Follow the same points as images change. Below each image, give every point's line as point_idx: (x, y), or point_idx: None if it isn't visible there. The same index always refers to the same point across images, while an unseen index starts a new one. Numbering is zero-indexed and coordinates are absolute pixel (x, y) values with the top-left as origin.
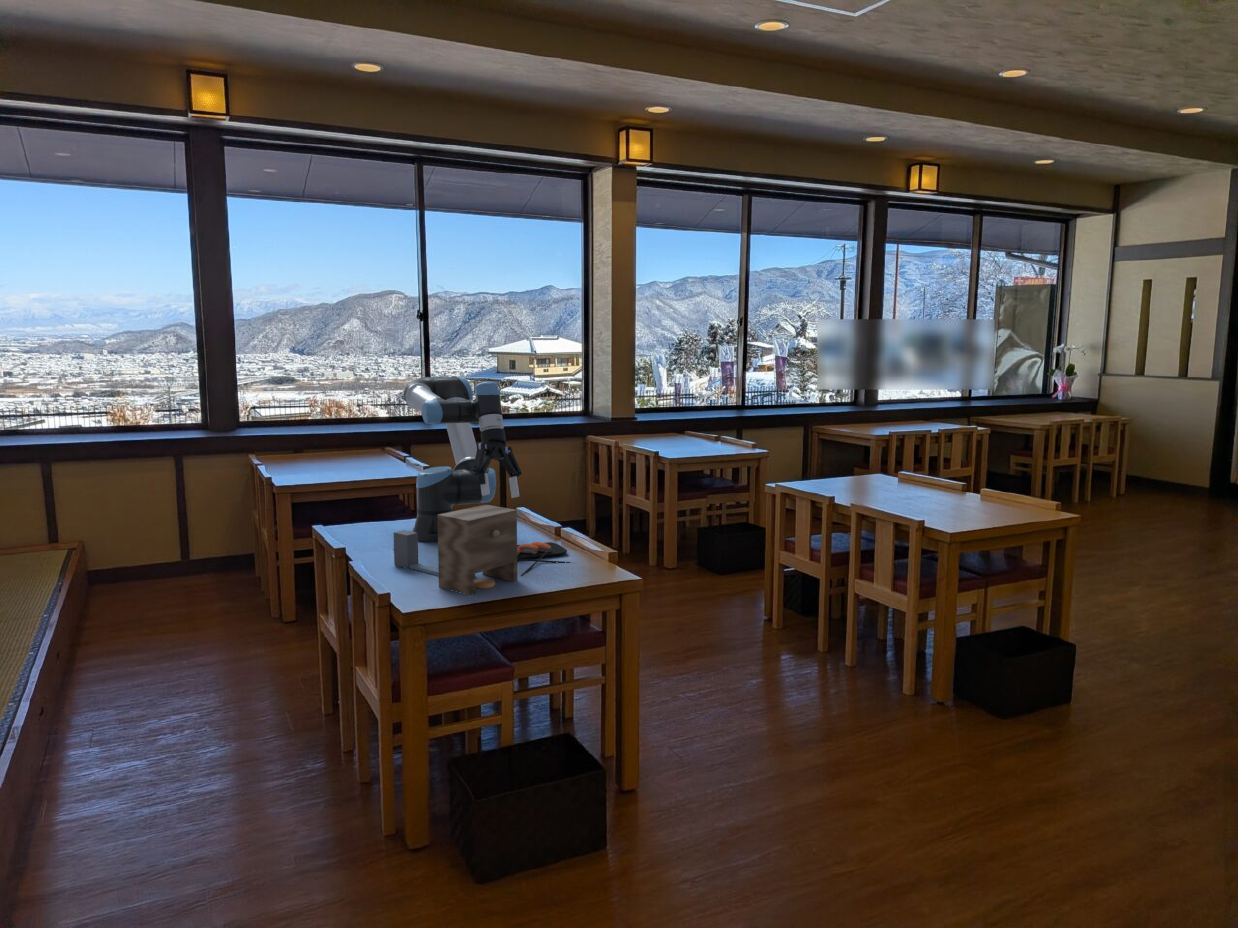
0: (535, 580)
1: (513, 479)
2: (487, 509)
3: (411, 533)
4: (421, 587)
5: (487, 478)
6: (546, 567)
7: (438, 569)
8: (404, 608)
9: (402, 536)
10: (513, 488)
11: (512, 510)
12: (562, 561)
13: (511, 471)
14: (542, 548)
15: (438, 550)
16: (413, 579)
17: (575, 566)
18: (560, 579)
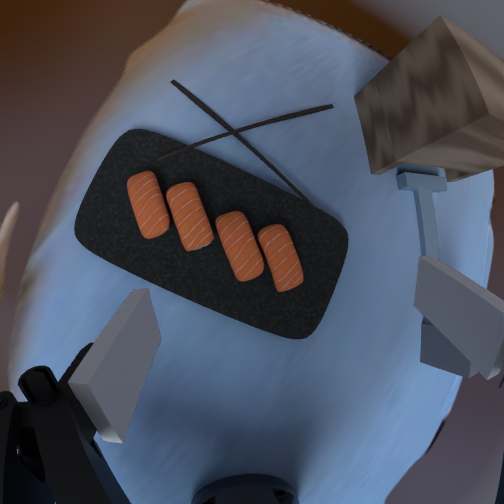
0: (329, 72)
1: (109, 387)
2: (491, 78)
3: None
4: (465, 203)
5: (486, 297)
6: (251, 100)
7: (429, 251)
8: None
9: None
10: (138, 349)
11: (450, 22)
12: (192, 98)
13: (92, 455)
14: (158, 184)
15: (497, 166)
16: (459, 250)
17: (200, 65)
18: (292, 44)
